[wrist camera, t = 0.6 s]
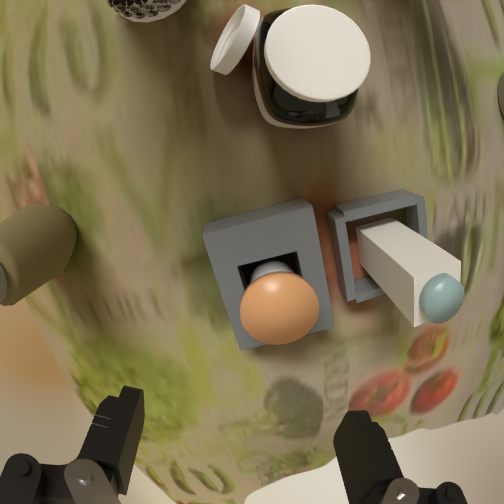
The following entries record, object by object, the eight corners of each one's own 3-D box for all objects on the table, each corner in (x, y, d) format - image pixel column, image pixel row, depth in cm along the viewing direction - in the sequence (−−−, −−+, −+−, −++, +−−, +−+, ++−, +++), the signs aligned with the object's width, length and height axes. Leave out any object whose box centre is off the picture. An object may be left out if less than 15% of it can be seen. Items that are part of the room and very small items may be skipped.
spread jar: (334, 128, 29) (383, 126, 18) (217, 135, 29) (205, 134, 18) (322, 18, 25) (361, -31, 14) (208, 22, 25) (193, -32, 14)
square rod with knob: (391, 217, 33) (469, 267, 19) (395, 254, 34) (465, 317, 21) (355, 226, 33) (421, 284, 20) (360, 264, 34) (420, 335, 21)
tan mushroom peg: (298, 242, 30) (312, 267, 24) (310, 300, 32) (324, 333, 27) (231, 259, 30) (230, 287, 25) (249, 316, 33) (251, 351, 27)
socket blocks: (408, 174, 31) (427, 179, 27) (416, 280, 36) (432, 295, 32) (206, 222, 32) (201, 234, 28) (240, 329, 37) (240, 350, 33)
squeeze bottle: (94, 213, 31) (-13, 286, 14) (77, 275, 34) (-10, 371, 17) (38, 185, 30) (-80, 234, 13) (25, 247, 32) (-73, 320, 15)
